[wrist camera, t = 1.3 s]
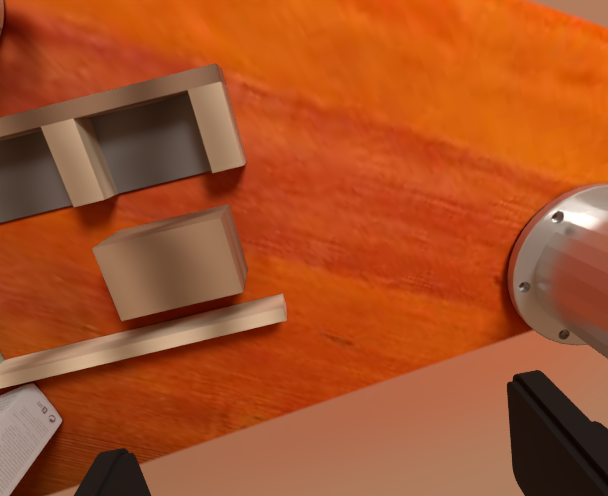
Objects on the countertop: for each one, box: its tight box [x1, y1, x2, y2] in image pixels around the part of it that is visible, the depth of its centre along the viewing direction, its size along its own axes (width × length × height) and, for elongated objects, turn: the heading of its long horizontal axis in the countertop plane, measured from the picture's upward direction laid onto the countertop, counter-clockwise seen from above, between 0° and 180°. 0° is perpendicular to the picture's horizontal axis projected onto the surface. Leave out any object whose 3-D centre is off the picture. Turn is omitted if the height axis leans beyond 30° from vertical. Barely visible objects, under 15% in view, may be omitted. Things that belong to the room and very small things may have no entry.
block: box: [92, 204, 248, 321], centre depth 28 cm, size 8×5×4 cm, turn 103°
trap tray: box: [0, 64, 287, 389], centre depth 28 cm, size 23×17×2 cm
